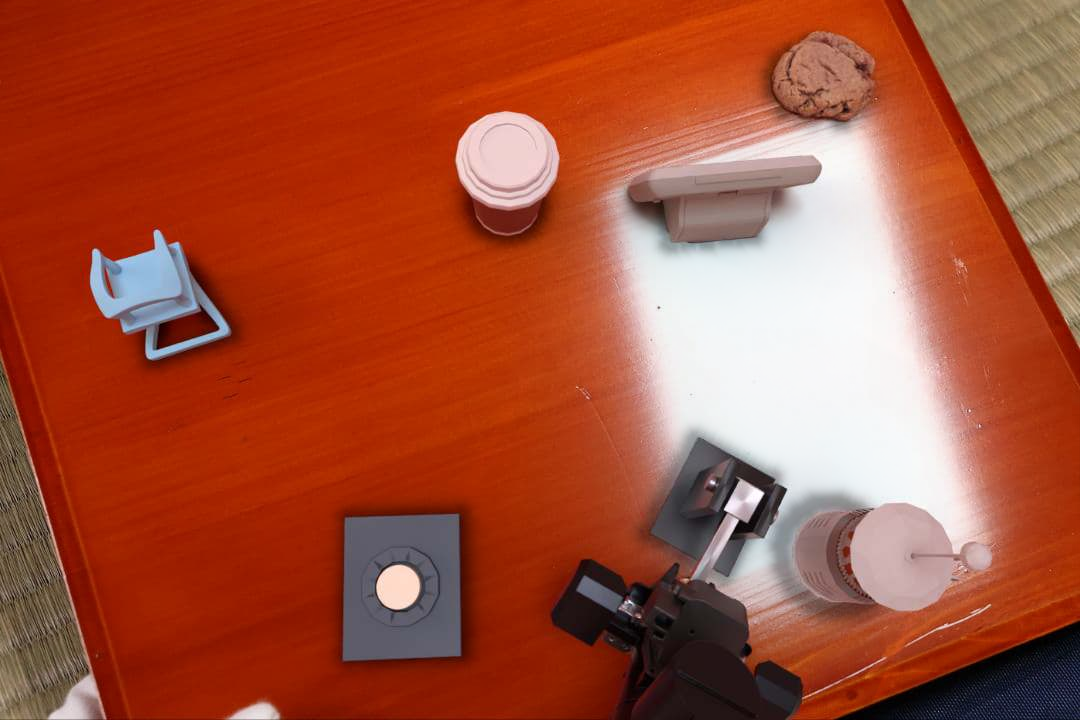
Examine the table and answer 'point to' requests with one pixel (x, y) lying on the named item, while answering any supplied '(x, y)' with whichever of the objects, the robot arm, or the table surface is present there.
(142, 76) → the table surface
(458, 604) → the control box
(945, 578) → the french press
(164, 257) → the chair
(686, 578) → the switch lever
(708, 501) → the switch bracket
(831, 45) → the cookie
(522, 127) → the coffee cup
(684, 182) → the digital clock
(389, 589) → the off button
